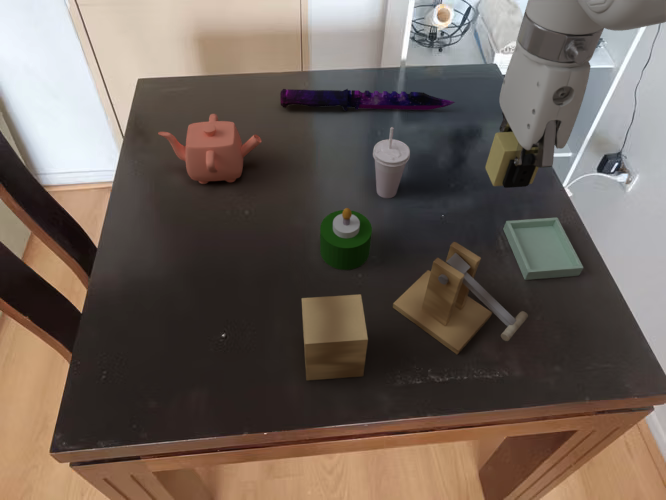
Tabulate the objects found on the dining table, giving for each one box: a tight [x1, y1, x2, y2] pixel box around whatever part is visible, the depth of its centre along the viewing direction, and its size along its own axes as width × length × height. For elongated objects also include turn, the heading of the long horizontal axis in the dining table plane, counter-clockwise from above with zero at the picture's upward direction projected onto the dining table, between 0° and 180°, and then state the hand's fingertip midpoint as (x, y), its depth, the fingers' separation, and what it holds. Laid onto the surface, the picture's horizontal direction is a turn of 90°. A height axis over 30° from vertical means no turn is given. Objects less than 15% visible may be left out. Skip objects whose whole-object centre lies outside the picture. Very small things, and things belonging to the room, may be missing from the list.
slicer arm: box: [445, 253, 529, 342], centre depth 73 cm, size 13×5×2 cm, turn 47°
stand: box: [301, 293, 369, 381], centre depth 73 cm, size 8×7×10 cm
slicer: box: [392, 241, 493, 355], centre depth 77 cm, size 12×9×13 cm
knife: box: [279, 88, 456, 112], centre depth 114 cm, size 37×4×5 cm, turn 89°
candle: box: [319, 207, 373, 271], centre depth 86 cm, size 8×8×10 cm
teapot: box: [157, 113, 262, 185], centre depth 99 cm, size 14×12×10 cm
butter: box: [484, 131, 539, 187], centre depth 65 cm, size 5×4×6 cm
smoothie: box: [372, 126, 411, 199], centre depth 94 cm, size 6×6×14 cm
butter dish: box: [502, 217, 584, 281], centre depth 90 cm, size 11×9×2 cm
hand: (509, 172), depth 67 cm, fingers closed on butter, 3 cm apart
